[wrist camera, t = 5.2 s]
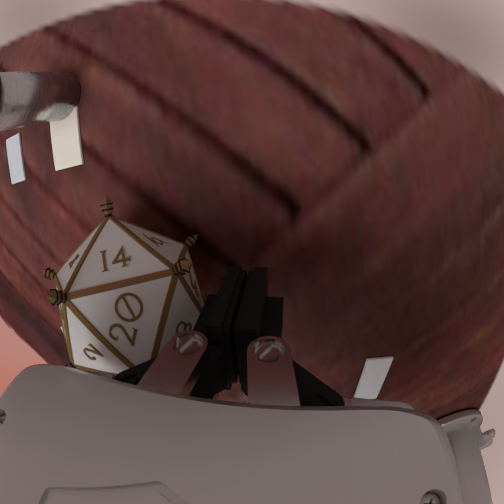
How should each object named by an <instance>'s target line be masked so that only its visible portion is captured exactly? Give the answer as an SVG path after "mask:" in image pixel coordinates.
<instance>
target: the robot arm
mask: <svg viewBox="0 0 504 504" xmlns="http://www.w3.org/2000/svg"><path fill="white" fill-rule="evenodd" d="M282 325H283V297H268V278H267V267H254V270H249V273H248V277H247V272H246V270H242V267H232V266H229V267H228V269H227V271H226V274H225V276H224V279H223V281H222V284H221V286H220V289H219V291H218V293H217V295H211V294H210V295H208V297H207V299H206V301H205V303H204V306H203V308H202V310H201V312H200V315H199V317H198V319H197V321H196V324H195V326H194V328H193V331H192V330H189V331H183V332H180V333H177V334H176V335H174V336H173V337H172V338H171V339H170V340H169V342H168V343H167V344H166V346H165V347H164V348H163V350H162V351H161V353H160V354H159V355H158V356H157V357H155V358H152V359H150V360H148V361H145V362H143V363H141V364H138V365H136V366H134V367H131V368H129V369H126V370H124V371H122V372H120V373H118V374H117V375H115V374H114V373H110V372H94V371H81V370H78V369H74V368H70V367H66V366H61V365H53V364H38V365H32V366H29V367H27V368H25V369H24V370H23V371H21V372H20V373H19V374H18V375H17V376H16V377H15V379H14V380H13V381H12V382H11V383H10V385H9V386H8V387H7V389H6V390H5V391H4V392H3V394H2V395H1V397H0V504H492V499H491V493H490V488H489V484H488V479H487V475H486V470H485V466H484V462H483V459H482V456H481V451H480V450H481V449H484V448H486V447H488V446H490V445H491V443H492V440H493V439H492V438H493V437H494V436H495V430H494V429H491V430H488V431H486V432H484V433H482V432H481V430H480V425H481V423H482V420H483V418H482V415H481V412H480V411H479V410H475V409H470V410H464V411H461V412H457V413H454V414H451V415H449V416H446V417H444V418H441V419H439V420H436V419H434V418H433V417H431V416H430V415H427V414H425V413H422V412H419V411H416V410H414V409H413V408H412V407H411V406H410V405H408V404H406V403H402V402H392V401H381V400H372V399H364V398H356V397H352V398H351V400H349V399H343V398H342V397H341V396H340V395H339V394H338V393H337V392H336V391H334V390H333V389H331V388H330V387H329V386H327V385H326V384H324V383H323V382H322V381H320V380H319V379H318V378H316V377H315V376H313V375H312V374H311V373H309V372H308V371H307V370H305V369H304V368H303V367H301V366H300V365H299V364H297V363H296V362H295V361H293V360H292V356H291V351H290V347H289V345H288V344H287V342H286V341H285V340H283V339H282ZM238 375H239V381H240V383H241V389H242V391H243V392H244V393H245V394H246V395H247V396H248V403H238V402H229V401H220V400H218V397H219V394H218V393H219V392H221V391H223V390H225V389H226V390H231V386H232V383H237V380H238Z"/></svg>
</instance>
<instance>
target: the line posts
mask: <svg viewBox="0 0 504 504" xmlns="http://www.w3.org/2000/svg"><path fill="white" fill-rule="evenodd" d="M79 98H80V83H79V80H78V78H77V77H76V76H75V75H73V74H71V73H58V72H0V131H5V130H9V129H14V128H19V127H24V126H29V125H35V124H41V123H47V122H54V121H61V120H64V119H65V118H67V117H68V116H69V115H70V114H71V112H72V111H73V109H74V107H76V106H77V105H78V102H79Z"/></svg>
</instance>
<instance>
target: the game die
mask: <svg viewBox="0 0 504 504" xmlns="http://www.w3.org/2000/svg"><path fill="white" fill-rule="evenodd" d="M112 204H113V202H111V201H110V200H109V199H108V198H107V196H106V195H105V197H104V200H103V202H102V205H100V206H102V212H103V213H104V215H105V218H104V219H103V220H102V221H101V222H100V223H99V224H98V225H97V226H96V227H95V228H94V229H93V230H92V231H91V233H90V234H89V235H88V236H87V237H86V238H85V239H84V240H83V241H82V243H81V244H80V245H79V246H78V247H77V248H76V249H75V251H74V252H73V253H72V254H71V255H70V256H69V258H68V259H67V260H66V261H65V262H64V264H63V265H62V266H61V267H60V269H59V270H58V271H57V272H56V273H55V272H54V269H52V270H51V269H50V267H49V268H47V269H45V270H42V272H43V274H44V275H45V276H44V277H46V278H47V279H48V278H49V279H50V280H51V279H54V283H55V289H50V292H48V293H47V294H46V295H45V296H46V297H47V298H48V299H49V301H50V302H51V304H52V305H53V306H54V305H55V304H57V305H58V309H59V314H60V319H61V324H62V329H63V333H64V338H65V342H66V346H67V350H68V354H69V358H70V361H71V362H70V364H68V365H65V366H66V367H70V368H74V369H75V368H80V369H84V370H88V371H94V372H110V373H114V374H115V375H117V374H118V373H120V372H122V371H124V370H126V369H129V368H131V367H134V366H136V365H138V364H141V363H143V362H145V361H148V360H150V359H152V358H155V357H157V356H158V355H159V354H160V353H161V351H162V350H163V348H164V347H165V346H166V344H167V343H168V342H169V340H170V339H171V338H172V337H173V336H174V335H176V334H177V333H180V332H183V331H189V330H192V331H193V328H194V326H195V324H196V321H197V319H198V317H199V315H200V312H201V310H202V308H203V306H204V303H205V301H204V298H203V295H202V292H201V288H200V285H199V282H198V279H197V276H196V272H195V269H194V266H193V263H192V259H191V256H190V252H189V249H188V248H189V247H192V246H193V244H196V242H197V240H196V239H197V235H198V234H196V235H188V238H185V242H184V243H181V242H179V241H176V240H173V239H171V238H168V237H166V236H163V235H161V234H158V233H155V232H153V231H150V230H148V229H145V228H143V227H140V226H138V225H135V224H133V223H130V222H128V221H125V220H123V219H120V218H118V217H115V216H113V215H112V209H113V208H112Z"/></svg>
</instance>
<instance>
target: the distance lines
mask: <svg viewBox="0 0 504 504" xmlns="http://www.w3.org/2000/svg"><path fill="white" fill-rule="evenodd" d="M50 130H51V140H52V149H53V157H54V163H55V170H56V171H57V170H61V169H65V168H68V167H72V166H76V165H81V164H84V160H83V153H82V145H81V136H80V125H79V113H78V106H76V107H74V109H73V111H72V112H71V114H70V115H69V116H68V117H67V118H65V119H64V120H61V121H54V122H50ZM6 146H7V154H8V162H9V169H10V175H11V181H12V184H15V183H17V182H21V181H24V180H26V174H25V167H24V161H23V153H22V144H21V134H20V133H18V134H16V135H14V136H12V137H11V138H9V139H7V140H6ZM61 329H62V326H61ZM62 331H63V329H62ZM392 360H393V356H389V357H377V358H367V359H366V362H365V365H364V368H363V371H362V374H361V377H360V380H359V383H358V386H357V389H356V391H355V394H354V397H356V398H364V399H375V398H377V396H378V393H379V391H380V389H381V387H382V384H383V382H384V380H385V378H386V375H387V373H388V370H389V368H390V365H391V363H392Z"/></svg>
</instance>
